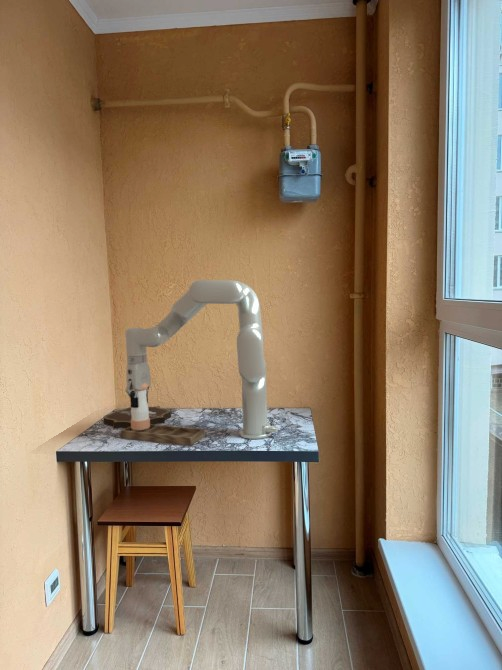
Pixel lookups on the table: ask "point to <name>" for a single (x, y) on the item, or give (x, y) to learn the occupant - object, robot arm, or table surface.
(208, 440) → the table surface
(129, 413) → the decorative plaque
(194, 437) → the notch ledge
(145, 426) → the pepper shaker
